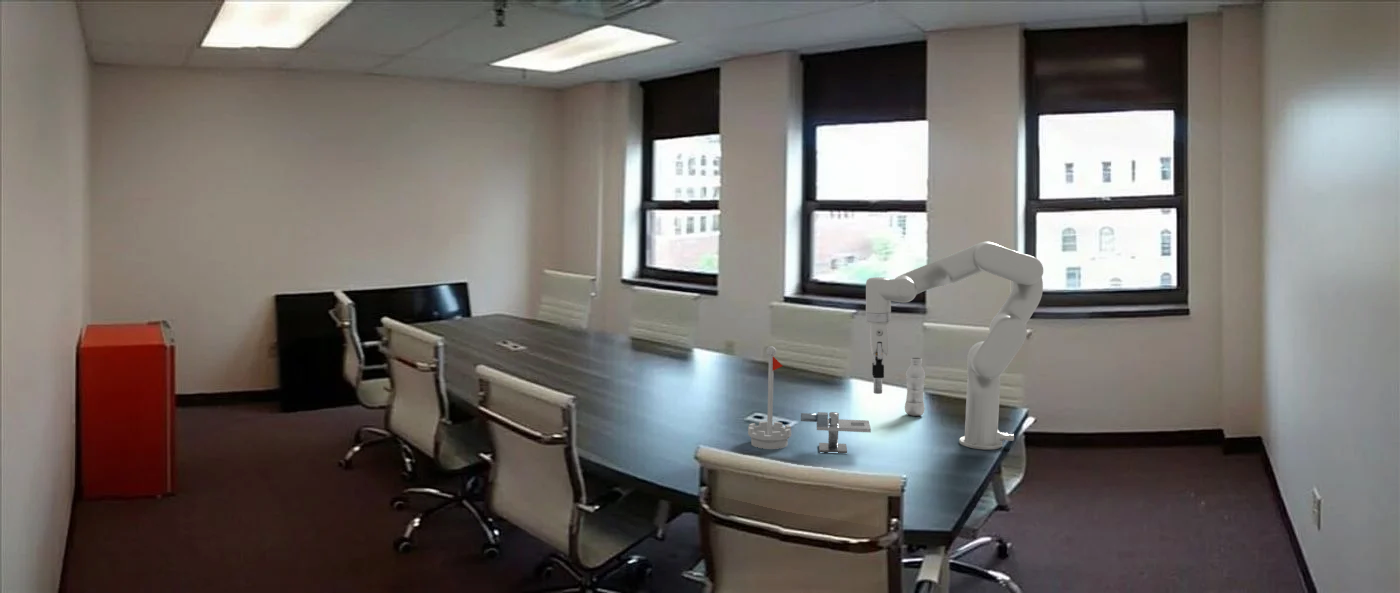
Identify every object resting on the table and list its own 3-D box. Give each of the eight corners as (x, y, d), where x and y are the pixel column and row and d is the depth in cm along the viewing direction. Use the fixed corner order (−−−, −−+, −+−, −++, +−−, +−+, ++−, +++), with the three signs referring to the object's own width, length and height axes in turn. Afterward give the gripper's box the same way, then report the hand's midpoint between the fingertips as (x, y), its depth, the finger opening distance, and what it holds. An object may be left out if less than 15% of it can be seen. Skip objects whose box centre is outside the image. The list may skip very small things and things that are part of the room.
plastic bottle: (926, 417, 304) (928, 360, 302) (906, 417, 305) (908, 359, 302) (921, 413, 311) (924, 356, 309) (902, 413, 311) (904, 356, 309)
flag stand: (739, 442, 271) (740, 345, 268) (771, 436, 279) (773, 341, 276) (767, 452, 261) (769, 351, 258) (799, 445, 269) (802, 347, 265)
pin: (881, 392, 277) (881, 347, 276) (882, 393, 275) (882, 348, 273) (873, 391, 278) (873, 347, 276) (873, 393, 275) (874, 348, 274)
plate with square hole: (867, 446, 268) (868, 410, 267) (869, 456, 259) (871, 418, 257) (800, 443, 271) (801, 408, 270) (799, 452, 261) (800, 416, 260)
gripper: (893, 321, 265) (892, 382, 267) (888, 314, 281) (888, 371, 283) (867, 321, 266) (867, 382, 268) (864, 314, 282) (864, 371, 284)
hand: (878, 376), depth 276 cm, fingers closed on pin, 2 cm apart
